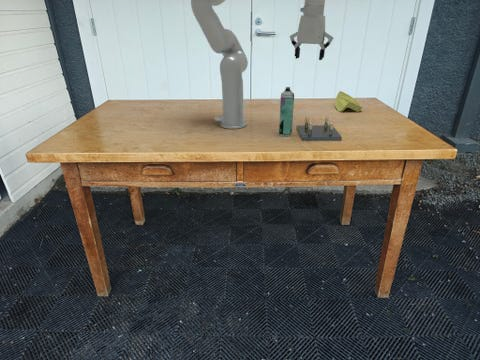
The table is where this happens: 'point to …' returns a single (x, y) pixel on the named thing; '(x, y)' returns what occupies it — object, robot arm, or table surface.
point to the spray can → (286, 112)
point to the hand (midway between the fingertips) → (308, 59)
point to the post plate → (318, 131)
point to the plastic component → (346, 102)
